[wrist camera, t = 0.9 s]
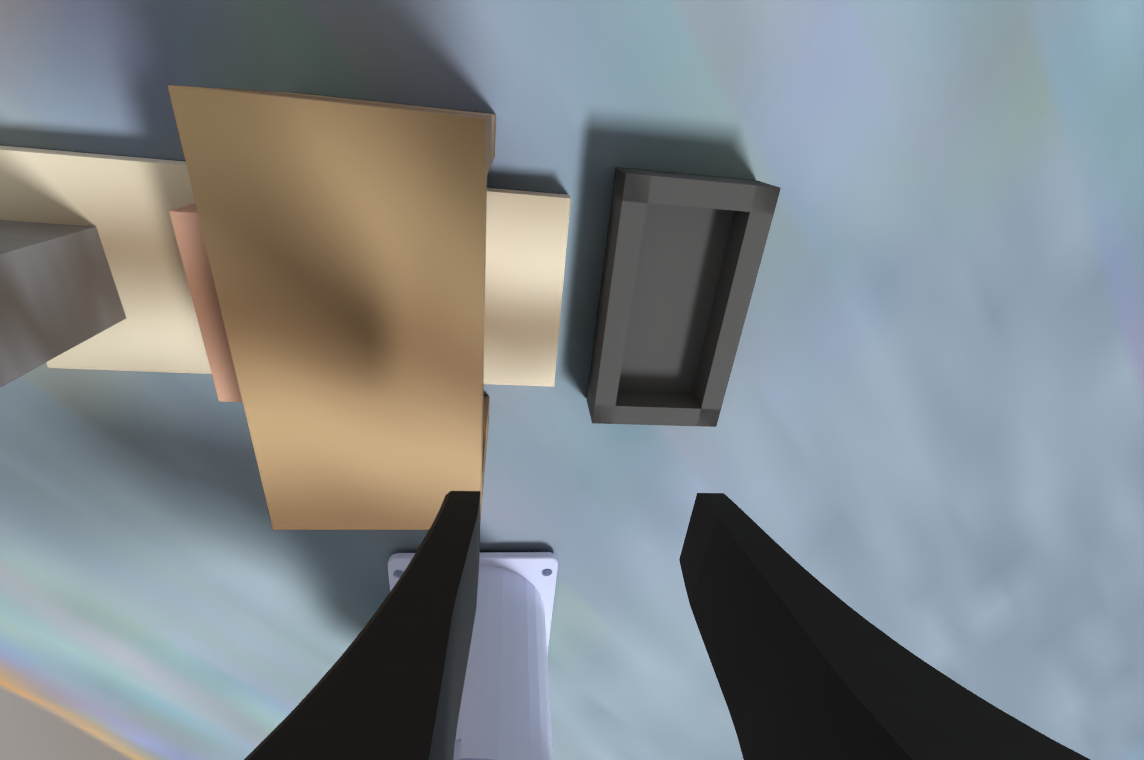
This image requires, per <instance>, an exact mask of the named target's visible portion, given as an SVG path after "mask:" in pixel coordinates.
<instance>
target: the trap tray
mask: <svg viewBox="0 0 1144 760" xmlns="http://www.w3.org/2000/svg"><path fill="white" fill-rule="evenodd" d="M779 192H780V188H779V187H776V186H773V185H770V184H766V183H763V182H760V181H756V180H746V179H735V178H724V177H714V176H703V175H693V174H682V173H672V172H661V171H651V170H640V169H630V168H619V167H616V170H615V178H614V186H613V194H612V202H611V210H610V218H609V225H608V233H607V241H606V249H605V257H604V265H603V273H602V281H601V289H600V297H599V305H598V313H597V321H596V329H595V337H594V345H593V353H592V361H591V369H590V377H589V385H588V392H587V403H588V407H589V412H590V416H591V420H592V423H604V424H640V425H676V426H713V427H716V425H717V421H718V418H719V414H720V410H721V407H722V403H723V399H724V396H725V392H726V388H727V384H728V381H729V377H730V373H731V370H732V366H733V362H734V358H735V355H736V351H737V347H738V344H739V340H740V336H741V333H742V329H743V325H744V321H745V318H746V314H747V310H748V307H749V303H750V299H751V296H752V292H753V288H754V284H755V281H756V277H757V273H758V270H759V266H760V262H761V259H762V255H763V251H764V247H765V244H766V240H767V236H768V233H769V229H770V225H771V222H772V218H773V214H774V210H775V207H776V203H777V199H778V196H779Z"/></svg>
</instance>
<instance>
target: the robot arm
mask: <svg viewBox="0 0 1144 760" xmlns="http://www.w3.org/2000/svg"><path fill="white" fill-rule="evenodd" d="M480 493H481V491H450V492H449V493H448V494H446V495H445V498H444V500H443V503H442V505H441V507H440V510H439V512H438V514H437V516H436V518H435V520H434V522H433V524H432V526H431V527H430V529H429V531H428V533H427V535H426V536H425V538H424V540H423V542H422V543H421V545H420V547H419V548H418V550H417V552H416V553H396V554H393V555H391V557H390V558H389V561H388V576H389V585H390V593H389V594H388V596H387V597H386V599H385V600H384V602H383V603H382V604H381V606H380V607H379V609H378V610H377V611H376V613H375V614H374V615H373V617H372V618H371V619H370V621H369V622H368V623H367V625H366V626H365V627H364V629H363V630H362V631H361V632H360V634H359V635H358V636H357V638H356V639H355V640H354V641H353V642H352V644H351V645H350V646H349V647H348V649H347V650H346V651H345V652H344V653H343V655H342V656H341V657H340V658H339V659H338V661H337V662H336V663H335V664H334V665H333V666H332V668H331V669H330V670H329V671H328V672H327V673H326V674H325V675H324V677H323V678H322V679H321V680H320V681H319V682H318V683H317V685H316V686H315V687H314V688H313V689H312V690H311V691H310V693H309V694H308V695H307V696H306V697H305V698H304V699H303V700H302V701H301V702H300V703H299V705H298V706H297V707H296V708H295V709H294V710H293V711H292V712H291V713H290V714H289V715H288V716H287V717H286V718H285V719H284V720H283V721H282V722H281V723H280V724H279V725H278V726H277V727H276V728H275V729H274V730H273V731H272V732H271V733H270V734H269V735H268V736H267V737H266V738H265V739H264V740H263V741H262V742H261V743H260V744H259V745H258V746H257V747H256V748H255V749H254V750H253V751H252V752H251V753H250V754H249V755H248V756H247V757H246V758H245V759H244V760H553V746H552V729H551V711H550V694H549V677H548V660H547V654H548V645H549V636H550V628H551V619H552V610H553V602H554V593H555V584H556V576H557V567H558V561H557V556H556V555H555V554H553V553H551V552H484V553H480ZM679 560H680V565H681V569H682V573H683V578H684V582H685V587H686V591H687V595H688V599H689V603H690V606H691V609H692V612H693V614H694V617H695V620H696V623H697V625H698V628H699V631H700V634H701V636H702V639H703V642H704V644H705V647H706V650H707V652H708V655H709V658H710V660H711V663H712V666H713V668H714V671H715V674H716V677H717V679H718V682H719V685H720V687H721V690H722V693H723V695H724V698H725V701H726V703H727V706H728V709H729V712H730V715H731V718H732V721H733V724H734V727H735V730H736V733H737V736H738V740H739V744H740V747H741V751H742V755H743V758H744V760H1090V759H1088V758H1086V757H1084V756H1082V755H1080V754H1079V753H1077V752H1075V751H1073V750H1071V749H1069V748H1067V747H1065V746H1063V745H1061V744H1060V743H1058V742H1056V741H1054V740H1052V739H1050V738H1048V737H1047V736H1045V735H1043V734H1041V733H1040V732H1038V731H1036V730H1034V729H1033V728H1031V727H1029V726H1028V725H1026V724H1024V723H1022V722H1021V721H1019V720H1017V719H1015V718H1014V717H1012V716H1010V715H1009V714H1007V713H1005V712H1003V711H1002V710H1000V709H998V708H996V707H995V706H993V705H992V704H990V703H988V702H987V701H985V700H983V699H982V698H980V697H979V696H977V695H975V694H974V693H972V692H970V691H969V690H967V689H966V688H964V687H962V686H961V685H959V684H958V683H956V682H955V681H953V680H952V679H950V678H949V677H947V676H946V675H944V674H942V673H941V672H939V671H938V670H936V669H935V668H933V667H932V666H930V665H929V664H927V663H926V662H924V661H923V660H921V659H920V658H918V657H917V656H915V655H914V654H913V653H911V652H910V651H908V650H907V649H905V648H904V647H902V646H901V645H900V644H898V643H897V642H896V641H894V640H893V639H891V638H890V637H889V636H887V635H886V634H885V633H883V632H882V631H881V630H879V629H878V628H877V627H875V626H874V625H873V624H871V623H870V622H868V621H867V620H866V619H864V618H863V617H862V616H861V615H859V614H858V613H857V612H856V611H854V610H853V609H852V608H850V607H849V606H848V605H847V604H845V603H844V602H843V601H842V600H841V599H839V598H838V597H837V596H836V595H835V594H833V593H832V592H831V591H830V590H829V589H827V588H826V587H825V586H824V585H823V584H821V583H820V582H819V581H818V580H817V579H816V578H815V577H813V576H812V575H811V574H810V573H809V572H808V571H807V570H805V569H804V568H803V567H802V566H801V565H800V564H799V563H798V562H796V561H795V560H794V559H793V558H792V557H791V556H790V555H789V554H788V553H787V552H786V551H784V550H783V549H782V548H781V547H780V546H779V545H778V544H777V543H776V542H775V541H774V540H773V539H772V538H771V537H769V536H768V535H767V534H766V533H765V532H764V531H763V530H762V529H761V528H760V527H759V526H758V525H757V524H756V523H755V522H754V521H753V520H752V519H751V518H750V517H748V516H747V515H746V514H745V513H744V512H743V511H742V510H741V509H740V508H739V507H738V506H737V505H736V504H735V503H734V502H733V501H731V500H730V499H729V498H728V497H727V496H726V495H725V494H724V493H697V496H696V500H695V504H694V507H693V511H692V515H691V519H690V522H689V526H688V530H687V533H686V537H685V541H684V545H683V548H682V552H681V556H680V559H679ZM544 569H548V570H544ZM398 570H401V571H398Z"/></svg>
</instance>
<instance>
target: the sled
mask: <svg viewBox="0 0 1144 760" xmlns="http://www.w3.org/2000/svg"><path fill="white" fill-rule="evenodd" d="M570 202H571V198H570V196H569V195H566V194H554V193H543V192H531V191H520V190H508V189H496V188H487V209H486V269H485V329H484V384H499V385H526V386H553V387H554V380H555V369H556V358H557V347H558V335H559V324H560V313H561V302H562V291H563V280H564V269H565V258H566V247H567V235H568V224H569V213H570ZM44 363H46V364H47V366H48V368H63V369H91V370H118V371H145V372H172V373H200V374H212V377H213V380H214V384H215V388H216V392H217V396H218V399H219V401H223V402H243V401H242V397H241V393H240V388H239V384H238V380H237V376H236V372H235V367H234V363H233V359H232V355H231V351H230V346H229V342H228V338H227V334H226V330H225V325H224V321H223V317H222V313H221V309H220V304H219V300H218V296H217V292H216V288H215V283H214V279H213V275H212V271H211V267H210V262H209V258H208V254H207V250H206V246H205V241H204V237H203V233H202V229H201V224H200V220H199V216H198V212H197V208H196V203H195V199H194V195H193V191H192V187H191V182H190V178H189V174H188V170H187V166H186V162H185V161H173V160H161V159H150V158H138V157H127V156H115V155H104V154H92V153H81V152H69V151H58V150H46V149H34V148H23V147H11V146H0V387H2V386H3V385H5V384H7V383H9V382H11V381H13V380H14V379H16V378H18V377H20V376H22V375H24V374H25V373H27V372H29V371H31V370H33V369H35V368H36V367H38V366H40V365H42V364H44Z"/></svg>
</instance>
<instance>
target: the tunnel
mask: <svg viewBox="0 0 1144 760" xmlns="http://www.w3.org/2000/svg"><path fill="white" fill-rule="evenodd" d="M167 86H168V90H169V94H170V98H171V103H172V107H173V111H174V115H175V119H176V124H177V128H178V132H179V136H180V140H181V145H182V149H183V153H184V157H185V161H186V166H187V170H188V174H189V178H190V182H191V187H192V191H193V195H194V199H195V203H196V208H197V212H198V216H199V220H200V224H201V229H202V233H203V237H204V241H205V246H206V250H207V254H208V258H209V262H210V267H211V271H212V275H213V279H214V283H215V288H216V292H217V296H218V300H219V304H220V309H221V313H222V317H223V321H224V325H225V330H226V334H227V338H228V342H229V346H230V351H231V355H232V359H233V363H234V367H235V372H236V376H237V380H238V384H239V388H240V393H241V397H242V401H243V405H244V409H245V414H246V418H247V422H248V426H249V430H250V435H251V439H252V443H253V447H254V451H255V456H256V460H257V464H258V468H259V472H260V477H261V481H262V485H263V489H264V493H265V498H266V502H267V506H268V510H269V514H270V519H271V523H272V527H273V530H429V529H430V527H431V526H432V524H433V522H434V520H435V518H436V516H437V514H438V512H439V510H440V507H441V505H442V503H443V500H444V498H445V495H446V494H448V493H449V492H450V491H481V493H480V520H481V508H482V496H483V484H484V472H485V460H486V448H487V437H488V425H489V396H483V389H484V329H485V269H486V209H487V174H488V171H489V169H490V166H491V164H492V162H493V159H494V157H495V130H496V114H490V113H480V112H471V111H462V110H452V109H443V108H433V107H424V106H414V105H405V104H395V103H386V102H376V101H367V100H357V99H348V98H338V97H329V96H319V95H310V94H300V93H290V92H273V91H256V90H240V89H223V88H206V87H189V86H173V85H167Z"/></svg>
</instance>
